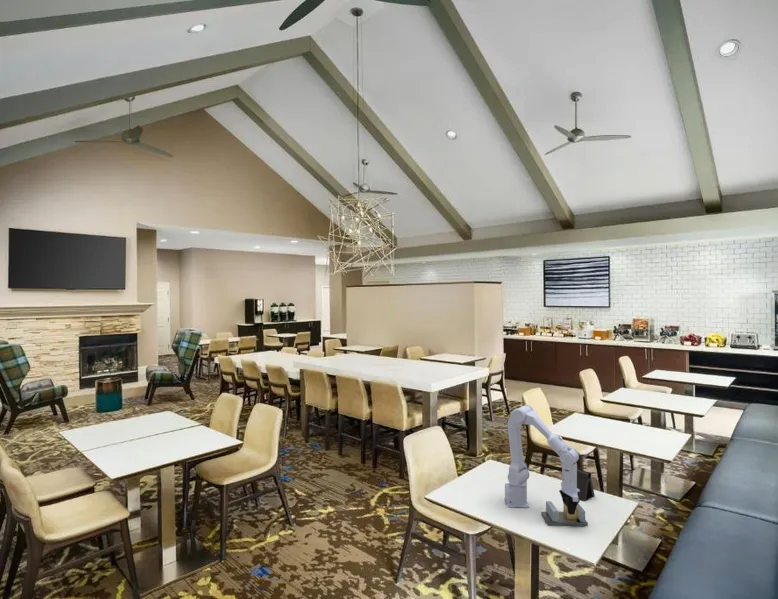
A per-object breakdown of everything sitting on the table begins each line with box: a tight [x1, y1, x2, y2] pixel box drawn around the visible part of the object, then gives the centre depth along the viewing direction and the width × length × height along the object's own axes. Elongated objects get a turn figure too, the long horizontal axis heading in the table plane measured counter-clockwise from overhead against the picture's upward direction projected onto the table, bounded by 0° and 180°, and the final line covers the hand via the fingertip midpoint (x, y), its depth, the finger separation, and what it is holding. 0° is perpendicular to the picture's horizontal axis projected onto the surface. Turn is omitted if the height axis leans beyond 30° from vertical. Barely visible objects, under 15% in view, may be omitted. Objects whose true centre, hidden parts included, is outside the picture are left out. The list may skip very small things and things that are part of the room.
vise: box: [540, 503, 589, 527], centre depth 189 cm, size 16×9×6 cm, turn 88°
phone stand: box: [577, 468, 596, 502], centre depth 211 cm, size 9×6×12 cm, turn 125°
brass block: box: [562, 502, 577, 520], centre depth 189 cm, size 4×4×5 cm
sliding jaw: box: [545, 500, 560, 522], centre depth 189 cm, size 2×9×4 cm, turn 178°
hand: (569, 511), depth 189 cm, fingers closed on brass block, 4 cm apart
